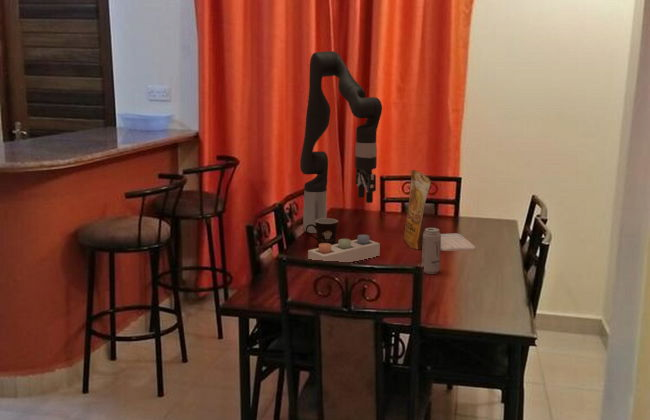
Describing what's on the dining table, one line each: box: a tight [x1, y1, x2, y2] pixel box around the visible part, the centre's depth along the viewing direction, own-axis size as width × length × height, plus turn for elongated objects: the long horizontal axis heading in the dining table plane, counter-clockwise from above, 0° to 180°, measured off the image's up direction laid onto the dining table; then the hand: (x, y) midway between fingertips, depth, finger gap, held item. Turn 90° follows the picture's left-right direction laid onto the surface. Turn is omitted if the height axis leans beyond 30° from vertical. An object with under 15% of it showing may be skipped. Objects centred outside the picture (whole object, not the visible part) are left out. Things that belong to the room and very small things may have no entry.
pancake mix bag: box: [403, 169, 432, 250], centre depth 262 cm, size 7×19×28 cm, turn 7°
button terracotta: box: [318, 243, 331, 254], centre depth 238 cm, size 4×4×3 cm
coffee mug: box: [305, 217, 339, 246], centre depth 261 cm, size 12×9×10 cm
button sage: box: [337, 238, 352, 250], centre depth 243 cm, size 4×4×3 cm
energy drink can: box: [421, 227, 442, 275], centre depth 231 cm, size 6×6×15 cm
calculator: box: [440, 233, 476, 252], centre depth 266 cm, size 13×20×2 cm, turn 8°
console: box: [307, 239, 381, 262], centre depth 244 cm, size 9×26×5 cm, turn 128°
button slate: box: [357, 234, 370, 245], centre depth 249 cm, size 4×4×3 cm
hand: (365, 199), depth 242 cm, fingers open, 8 cm apart
